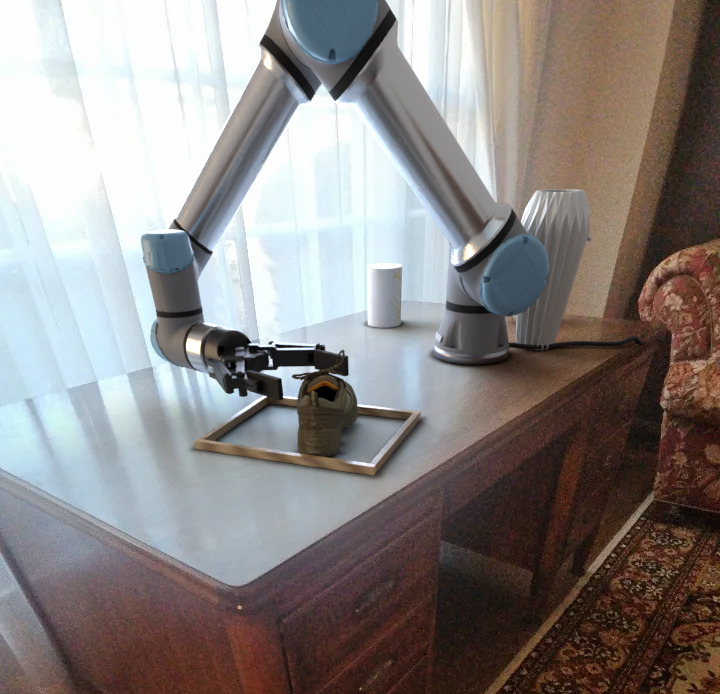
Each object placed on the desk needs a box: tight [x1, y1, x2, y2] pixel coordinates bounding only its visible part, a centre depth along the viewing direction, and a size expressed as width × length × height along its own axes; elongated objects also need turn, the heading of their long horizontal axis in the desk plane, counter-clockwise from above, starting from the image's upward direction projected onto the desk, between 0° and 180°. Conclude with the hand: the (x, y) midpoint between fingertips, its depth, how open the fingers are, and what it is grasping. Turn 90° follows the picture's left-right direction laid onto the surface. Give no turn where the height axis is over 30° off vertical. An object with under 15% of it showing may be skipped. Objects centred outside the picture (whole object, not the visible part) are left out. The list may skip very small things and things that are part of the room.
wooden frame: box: [193, 395, 422, 477], centre depth 88 cm, size 28×22×1 cm
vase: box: [514, 188, 591, 351], centre depth 114 cm, size 13×13×26 cm
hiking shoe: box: [291, 349, 358, 457], centre depth 83 cm, size 8×20×12 cm, turn 172°
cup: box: [366, 262, 403, 329], centre depth 137 cm, size 8×8×12 cm
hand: (315, 377), depth 82 cm, fingers open, 13 cm apart
